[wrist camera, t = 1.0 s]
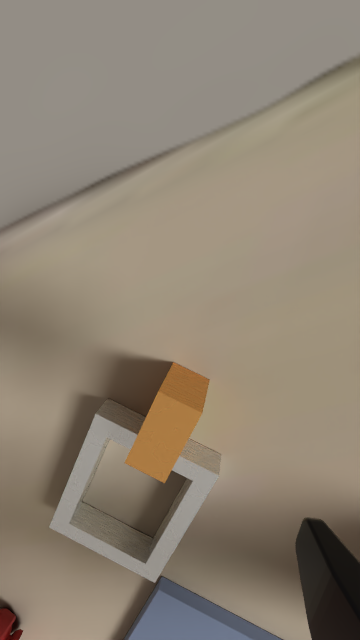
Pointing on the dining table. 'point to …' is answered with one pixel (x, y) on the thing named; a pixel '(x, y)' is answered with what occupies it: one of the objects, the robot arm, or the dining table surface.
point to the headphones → (8, 626)
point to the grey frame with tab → (150, 458)
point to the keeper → (189, 618)
